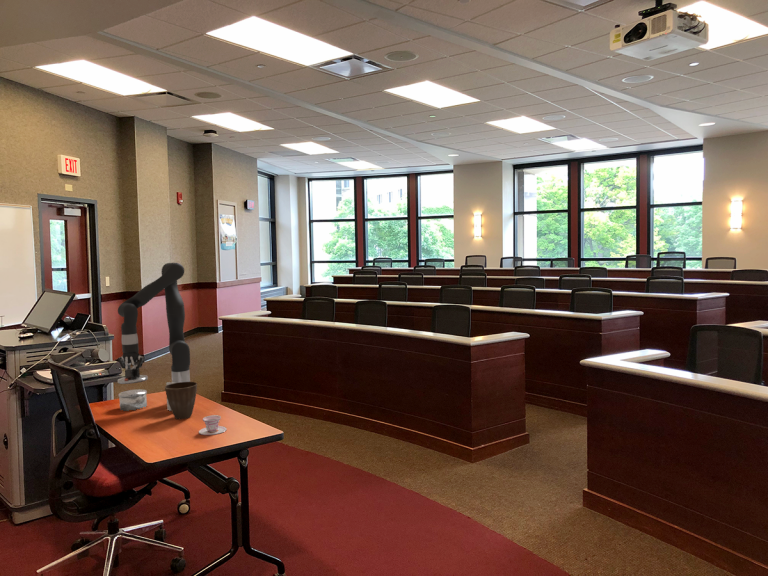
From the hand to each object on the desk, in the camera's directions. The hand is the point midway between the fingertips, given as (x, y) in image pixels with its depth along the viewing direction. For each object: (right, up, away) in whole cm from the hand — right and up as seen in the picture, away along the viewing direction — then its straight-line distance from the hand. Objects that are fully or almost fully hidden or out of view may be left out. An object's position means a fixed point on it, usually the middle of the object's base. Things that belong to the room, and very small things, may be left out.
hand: (132, 376), depth 290 cm
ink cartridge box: (+21, -18, +5) cm, 28 cm away
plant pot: (+29, -19, -9) cm, 36 cm away
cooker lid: (0, -2, 0) cm, 2 cm away
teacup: (+50, -20, -33) cm, 63 cm away
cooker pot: (-5, -18, +12) cm, 22 cm away
